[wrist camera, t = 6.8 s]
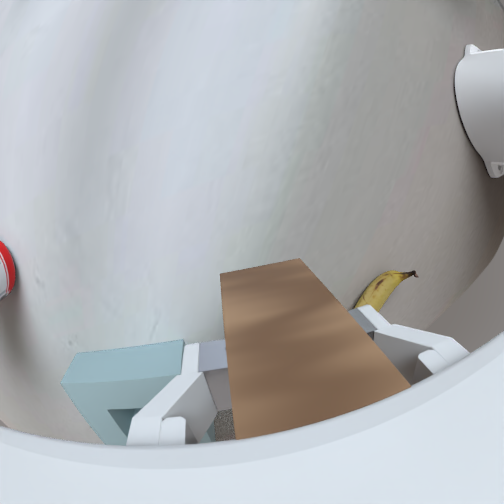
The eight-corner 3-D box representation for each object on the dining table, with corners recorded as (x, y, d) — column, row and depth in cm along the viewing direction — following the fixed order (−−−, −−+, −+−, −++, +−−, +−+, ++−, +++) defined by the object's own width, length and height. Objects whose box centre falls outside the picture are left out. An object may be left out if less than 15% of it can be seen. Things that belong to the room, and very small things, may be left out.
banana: (335, 337, 28) (351, 359, 24) (321, 326, 27) (338, 349, 23) (400, 267, 26) (423, 280, 23) (389, 252, 26) (414, 265, 22)
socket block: (183, 339, 25) (180, 373, 20) (213, 418, 28) (216, 451, 24) (76, 353, 23) (60, 383, 19) (121, 426, 27) (115, 456, 22)
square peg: (299, 258, 12) (411, 385, 4) (305, 325, 13) (383, 463, 5) (219, 273, 12) (236, 439, 4) (234, 340, 13) (261, 499, 5)
